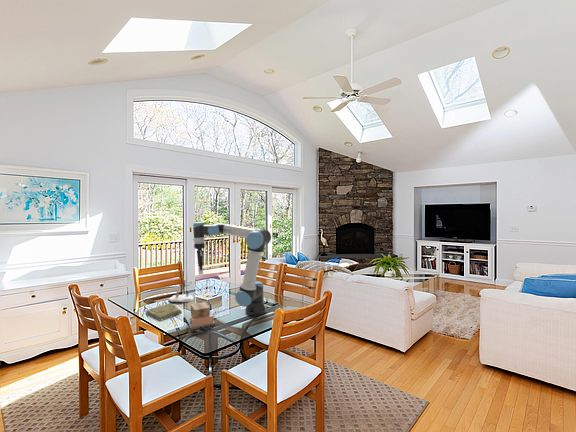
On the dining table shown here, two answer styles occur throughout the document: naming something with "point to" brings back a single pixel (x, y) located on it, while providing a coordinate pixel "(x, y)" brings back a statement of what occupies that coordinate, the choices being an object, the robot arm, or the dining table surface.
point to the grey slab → (199, 321)
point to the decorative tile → (164, 311)
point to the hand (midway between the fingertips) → (200, 274)
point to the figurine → (182, 296)
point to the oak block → (199, 310)
